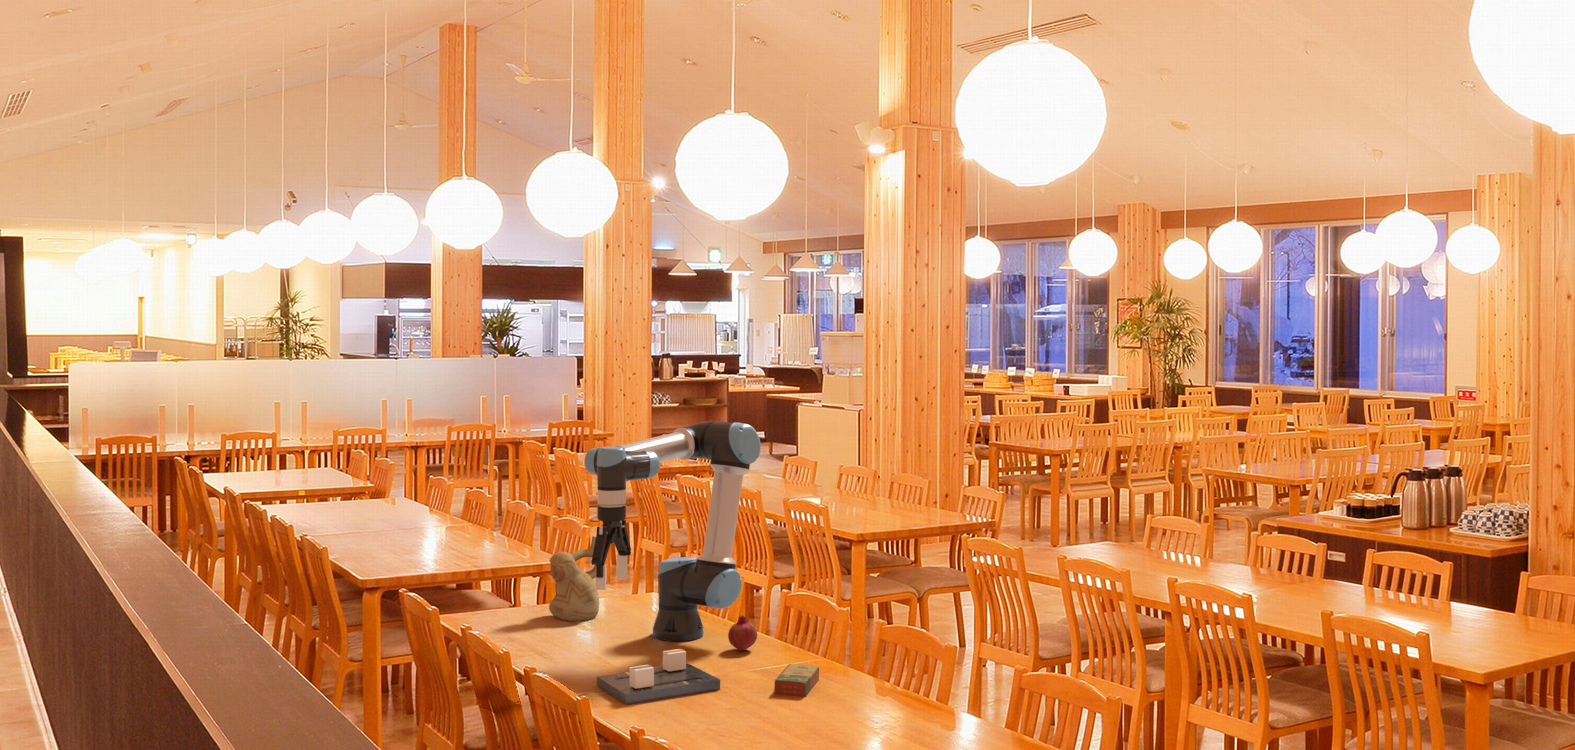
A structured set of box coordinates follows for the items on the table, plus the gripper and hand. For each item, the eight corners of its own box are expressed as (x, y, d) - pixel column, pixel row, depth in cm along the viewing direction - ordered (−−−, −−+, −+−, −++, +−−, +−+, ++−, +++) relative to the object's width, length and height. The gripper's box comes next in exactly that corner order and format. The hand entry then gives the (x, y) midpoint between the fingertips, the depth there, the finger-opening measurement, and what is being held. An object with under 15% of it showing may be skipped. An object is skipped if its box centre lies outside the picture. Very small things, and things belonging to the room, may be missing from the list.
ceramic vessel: (536, 617, 402) (535, 538, 401) (588, 608, 415) (588, 532, 414) (565, 626, 389) (565, 545, 388) (618, 617, 403) (618, 538, 402)
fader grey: (647, 682, 319) (647, 663, 319) (653, 685, 316) (653, 667, 316) (629, 685, 317) (629, 666, 316) (635, 688, 314) (635, 669, 313)
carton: (819, 681, 333) (819, 665, 333) (805, 698, 317) (806, 681, 317) (788, 678, 335) (788, 662, 335) (773, 696, 319) (773, 679, 319)
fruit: (734, 655, 357) (734, 620, 357) (724, 648, 364) (724, 613, 364) (761, 652, 360) (761, 617, 360) (750, 645, 368) (750, 611, 367)
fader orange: (680, 665, 335) (680, 648, 335) (686, 668, 332) (686, 651, 332) (662, 668, 332) (662, 650, 332) (668, 671, 329) (668, 653, 329)
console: (687, 672, 339) (688, 662, 339) (720, 689, 324) (720, 679, 323) (597, 686, 325) (597, 676, 325) (626, 704, 310) (626, 693, 310)
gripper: (617, 498, 351) (617, 574, 352) (578, 511, 327) (578, 593, 328) (642, 499, 349) (643, 576, 350) (605, 512, 325) (605, 594, 326)
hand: (611, 584), depth 339 cm, fingers open, 13 cm apart
